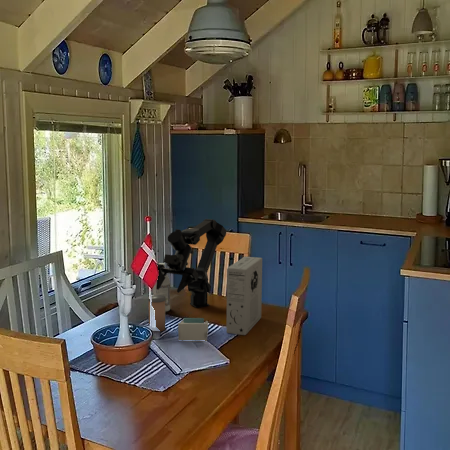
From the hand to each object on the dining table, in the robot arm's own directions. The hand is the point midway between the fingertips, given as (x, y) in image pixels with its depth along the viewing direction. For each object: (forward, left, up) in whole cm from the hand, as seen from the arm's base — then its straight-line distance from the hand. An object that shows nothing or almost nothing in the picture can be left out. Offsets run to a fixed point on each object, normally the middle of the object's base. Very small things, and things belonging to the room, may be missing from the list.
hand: (167, 290), depth 214 cm
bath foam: (-5, -16, -13) cm, 22 cm away
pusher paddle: (-2, +18, -12) cm, 21 cm away
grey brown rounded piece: (+6, +4, -13) cm, 15 cm away
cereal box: (-25, +17, -13) cm, 33 cm away
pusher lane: (-2, +17, -13) cm, 22 cm away
